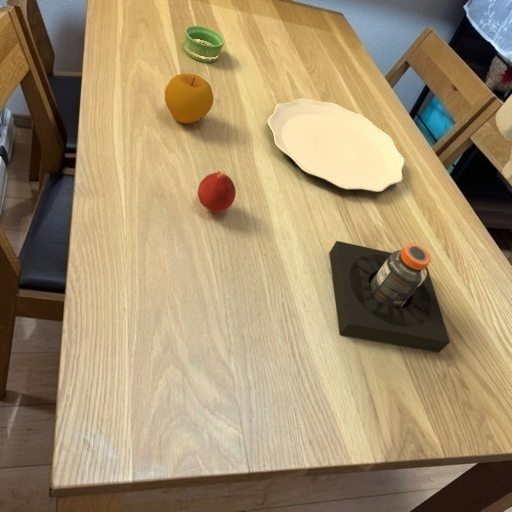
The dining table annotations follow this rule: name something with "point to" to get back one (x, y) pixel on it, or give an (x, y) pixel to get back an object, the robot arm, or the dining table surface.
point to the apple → (188, 97)
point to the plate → (336, 145)
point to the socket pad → (376, 313)
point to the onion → (216, 192)
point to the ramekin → (203, 48)
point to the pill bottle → (400, 275)
